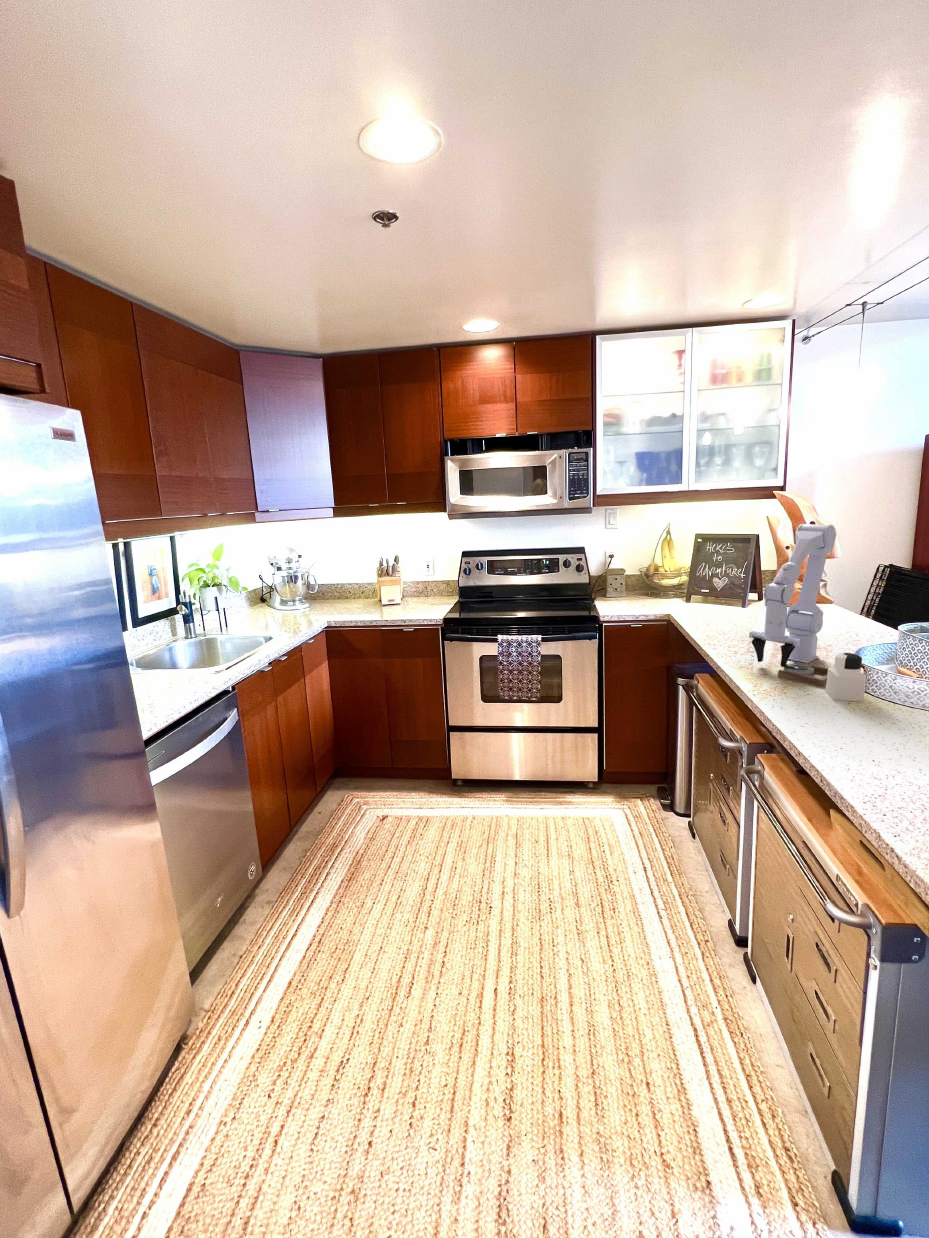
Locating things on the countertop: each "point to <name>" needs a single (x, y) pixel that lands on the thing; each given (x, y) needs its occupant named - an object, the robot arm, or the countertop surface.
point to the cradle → (805, 678)
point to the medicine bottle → (846, 678)
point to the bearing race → (799, 669)
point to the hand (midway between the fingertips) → (771, 663)
